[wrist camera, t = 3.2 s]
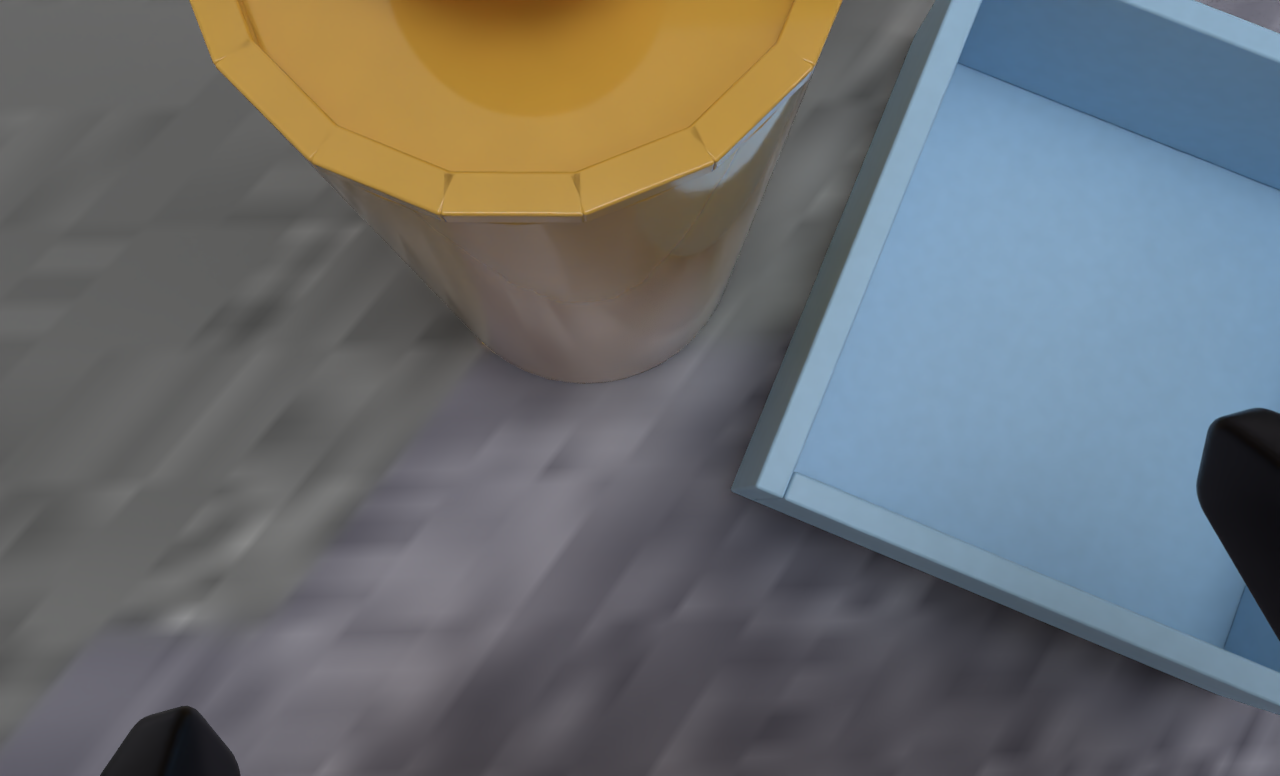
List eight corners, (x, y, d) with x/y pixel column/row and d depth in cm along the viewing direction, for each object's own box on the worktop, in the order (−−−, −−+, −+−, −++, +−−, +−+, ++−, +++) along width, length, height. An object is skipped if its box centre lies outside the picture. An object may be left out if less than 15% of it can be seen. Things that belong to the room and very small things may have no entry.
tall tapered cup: (779, 159, 22) (965, -295, 9) (666, 430, 21) (707, 325, 9) (509, 50, 22) (344, -532, 10) (390, 315, 21) (50, 55, 9)
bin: (1382, 220, 22) (1575, 146, 17) (1217, 694, 21) (1378, 747, 16) (914, 35, 22) (984, -84, 18) (730, 491, 21) (754, 487, 17)
